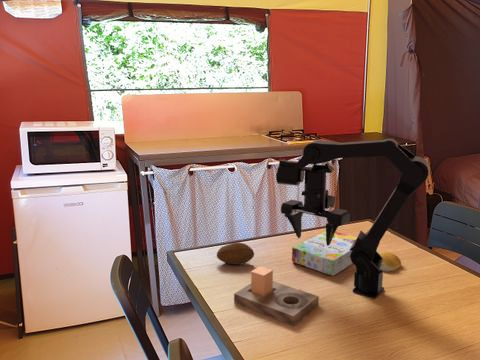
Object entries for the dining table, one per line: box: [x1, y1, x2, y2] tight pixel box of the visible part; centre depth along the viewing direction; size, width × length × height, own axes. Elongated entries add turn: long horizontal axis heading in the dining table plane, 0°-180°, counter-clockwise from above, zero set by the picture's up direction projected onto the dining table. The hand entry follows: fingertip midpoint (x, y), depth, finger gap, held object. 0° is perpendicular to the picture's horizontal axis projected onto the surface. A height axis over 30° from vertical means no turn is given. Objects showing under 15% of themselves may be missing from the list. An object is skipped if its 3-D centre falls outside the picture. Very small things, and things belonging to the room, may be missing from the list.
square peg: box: [250, 266, 274, 297], centre depth 118 cm, size 4×4×8 cm
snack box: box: [291, 230, 358, 277], centre depth 142 cm, size 21×6×15 cm
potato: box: [216, 241, 255, 265], centre depth 139 cm, size 7×12×7 cm, turn 95°
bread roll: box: [378, 251, 402, 272], centre depth 137 cm, size 8×9×4 cm
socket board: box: [233, 280, 320, 327], centre depth 116 cm, size 18×12×2 cm, turn 51°
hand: (313, 241), depth 125 cm, fingers open, 9 cm apart
